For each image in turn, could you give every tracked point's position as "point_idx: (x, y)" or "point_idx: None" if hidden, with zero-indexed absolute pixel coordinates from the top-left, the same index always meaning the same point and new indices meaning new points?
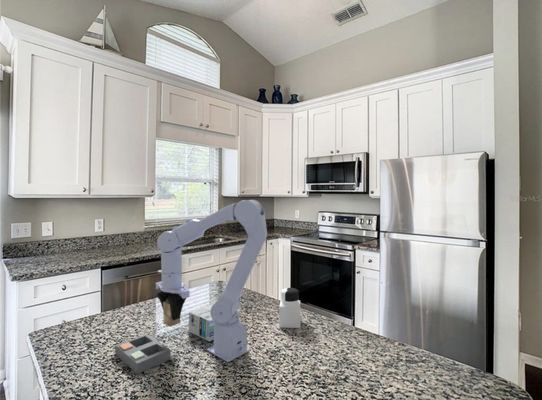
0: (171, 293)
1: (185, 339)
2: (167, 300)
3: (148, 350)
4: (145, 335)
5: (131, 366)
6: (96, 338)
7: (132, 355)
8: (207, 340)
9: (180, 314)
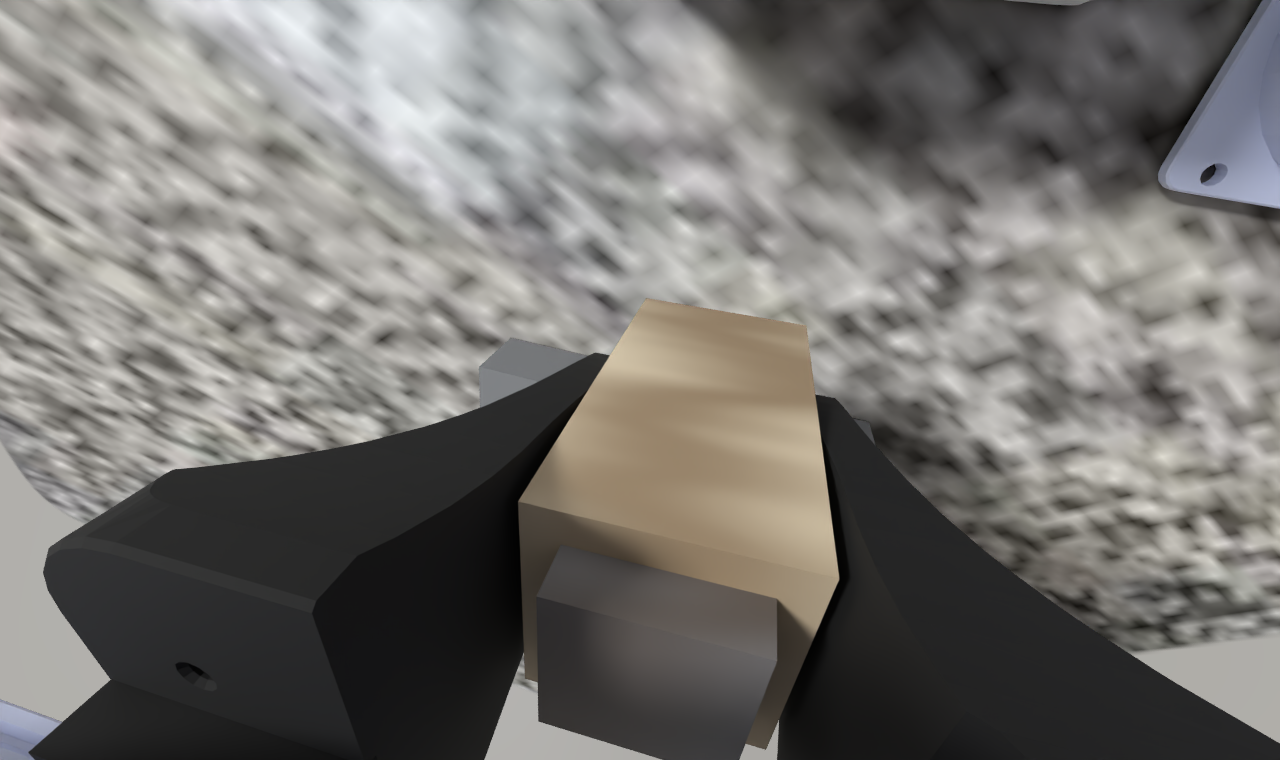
0: (417, 666)
1: (747, 125)
2: (615, 733)
3: None
4: (502, 390)
5: None
6: (253, 433)
7: None
8: (1047, 3)
9: (852, 419)
